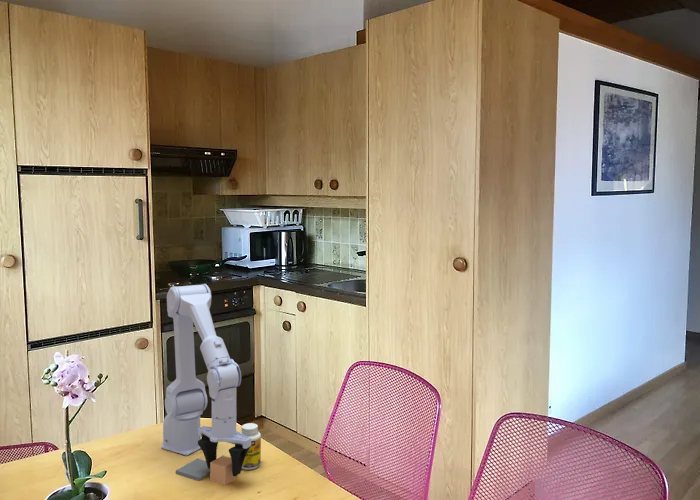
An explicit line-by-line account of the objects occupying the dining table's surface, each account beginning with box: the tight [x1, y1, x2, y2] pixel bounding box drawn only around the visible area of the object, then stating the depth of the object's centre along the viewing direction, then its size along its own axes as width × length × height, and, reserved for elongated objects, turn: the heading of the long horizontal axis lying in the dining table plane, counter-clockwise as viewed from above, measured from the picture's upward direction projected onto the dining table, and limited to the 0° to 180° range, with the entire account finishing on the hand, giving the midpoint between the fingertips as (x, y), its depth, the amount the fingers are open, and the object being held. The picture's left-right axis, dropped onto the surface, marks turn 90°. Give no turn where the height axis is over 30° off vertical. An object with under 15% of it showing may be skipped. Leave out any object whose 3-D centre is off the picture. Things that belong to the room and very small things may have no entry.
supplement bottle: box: [240, 422, 262, 471], centre depth 143 cm, size 6×6×10 cm
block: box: [209, 455, 239, 486], centre depth 136 cm, size 4×4×4 cm
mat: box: [175, 457, 210, 482], centre depth 140 cm, size 8×8×1 cm
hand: (224, 470), depth 136 cm, fingers open, 7 cm apart
